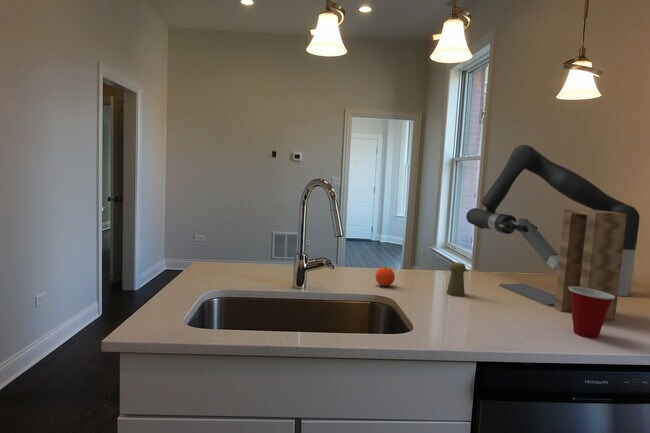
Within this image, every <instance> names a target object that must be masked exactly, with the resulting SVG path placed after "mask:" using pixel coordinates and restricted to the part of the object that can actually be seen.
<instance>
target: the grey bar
mask: <svg viewBox="0 0 650 433" xmlns="http://www.w3.org/2000/svg"><path fill="white" fill-rule="evenodd" d="M517 221H518V222H517V224H520V225H524V226H527V227H528V228H527V232H522V231H519V233H520V234H521V235H522V237H524V239H525V240H526V241H527V242H528V244H529V245H530V246H531V247H532V248H533V250H535V252H536V253H537V254H538V255H539V257H541V260H543V261H544V262H545V263H547V264H548V265H549V267H550V268H551V269H552V270H553V271H554V270H556V271H558V267H559V257H560V253H558V252H557V251H556V249H554V247H553V246H552V245H551V244H550V243H549V241H547V239H545V237H544V236H543V235H542V234H541V233H540V231H538V229H537V230H536V229H535V227H534V226H535V225H534V226H533V225H532V224H533V223H531V221H530V220H529V219H528V218H518V219H517Z"/></svg>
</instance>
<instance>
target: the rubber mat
mask: <svg viewBox="0 0 650 433" xmlns="http://www.w3.org/2000/svg"><path fill="white" fill-rule="evenodd" d="M499 287H501V288H503V289H506V290H507V291H511V292H513V293H516V294H518V295H521V296H523V297H525V298H528V299H530V300H533V301H535V302H537V303H539V304H542V305H544V306H547V307H555V297H556V294H553V293H551V292H549V291H546V290H542V289H540V288H537V287H535V286H532V285H530V284H527V283H499Z"/></svg>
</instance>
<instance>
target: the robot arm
mask: <svg viewBox="0 0 650 433" xmlns="http://www.w3.org/2000/svg"><path fill="white" fill-rule="evenodd" d="M525 170H527V171H528V172H531V173H532V174H534V175H536V176H538V177H540V178H541V179H543V180H544V181H545V182H546V183H547V184H548V185H549V186H551V187H552V188H553V189H555V190H556V191H557V192H559V193H560V194H562V195H563V196H564V197H566V198H568V199H570V200H572V201H574V202H575V203H578V204H579V205H582V206H584V207H585V208H586V207H587V208H589V209H590V210H599V211H608V212H617V213H626V214H627V218H626V227H625V235H624V244H623V253H622V262H621V271H620V279H619V288H618V297H629V296H631V292H632V285H633V284H632V283H633V277H634V269H635V268H634V267H635V266H634V265H635V258H636V249H637V243H638V237H639V236H638V235H639V227H640V214H639V211H638V209H636V208H635V207H633V206H632V205H629V204H626V202H625V203H624V202H622V201H620V200H618V199H616V198H614V197H612V196H611V195H609V194H607V193H606V192H604V191H602V190H601V189H600V188H599V187H597V186H596V185H595V184H593V183H592V182H590V180H588V179H586V178H585V177H583V176H581V175H580V174H578V173H576V172H575V171H572V170H570V169H568V168H566V167H564V166H561V165H560V164H557V163H555V162H553V161H551V160H550V159H548V158H547V157H545V156H544V155H543V154H542V153H540V152H538V151H537V150H536V149H535V148H534V147H532V146H531V145H527V144H520V145H518V146H516V147H515V148H514V149H513V151H512V152H511V154H510V155H509V158H508V160H507V162H506V165H505V166H504V167H503V169H502V172H501V173H500V174H499V175H498V177H497V179H496V180H495V182H494V183H493V184H492V186H491V187H490V188H489V189H488V190H487V192H486V193H485V195H484V197H483V198H482V200H481V202H480V203H481V204H482V206H484V207H485V210H483V209H482V208H477V207H474V208H471V209H469V210H468V211H467V213H466V216H465V217H466V220H467V222H468V223H470V224H471V225H473V226H475V227H477V228H479V229H481V230H483V229H488V230H491V231H494V232H496V233H500V234H501V233H502V234H505V235H511V234H513V233H514V232H520V231H522V232H527V228H528V227H527V226H524V225H520V224H517V222H518V219H517V218H516V217H515V216H513V215H511V214H506V213H500V212H496V211H497V209H498V208H499V206H500V205H501V203H502V202H503V201H504V199H505V198H506V197H507V195H508V193H509V191H510V189H511V188H512V185H513V184H514V182H515V181H516V179H517V178H518V177H519V176H520V174H521V173H522V172H523V171H525ZM531 224H532V225H533V226H534V227H535V229H536V230H537V231H538V226H537V225H535V224H534V223H531Z"/></svg>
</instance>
